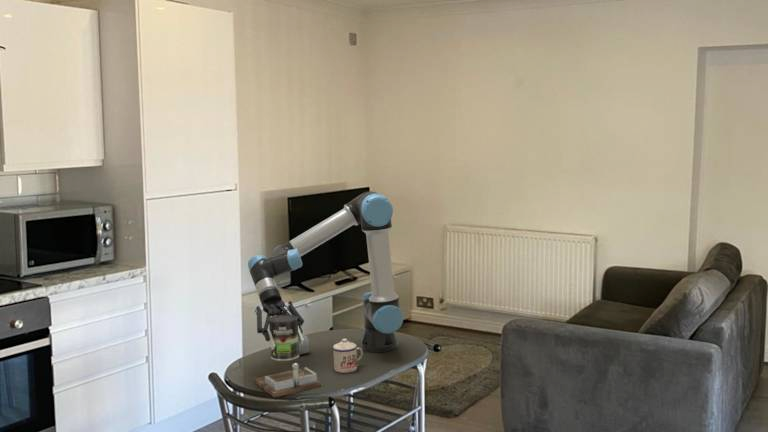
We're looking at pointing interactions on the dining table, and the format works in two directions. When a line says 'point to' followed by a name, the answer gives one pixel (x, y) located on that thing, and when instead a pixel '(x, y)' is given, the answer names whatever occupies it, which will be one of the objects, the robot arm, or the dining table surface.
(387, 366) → the dining table surface
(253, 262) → the robot arm
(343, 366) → the teacup with lid
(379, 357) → the dining table surface
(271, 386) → the keeper cradle
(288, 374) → the board
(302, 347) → the ceramic mug
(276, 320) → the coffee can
